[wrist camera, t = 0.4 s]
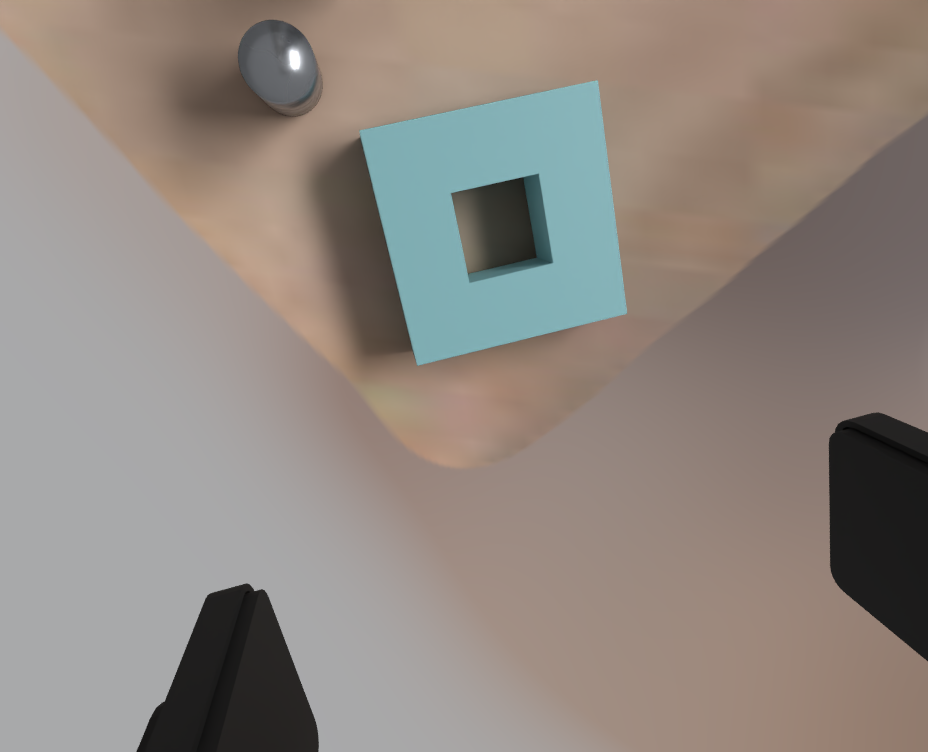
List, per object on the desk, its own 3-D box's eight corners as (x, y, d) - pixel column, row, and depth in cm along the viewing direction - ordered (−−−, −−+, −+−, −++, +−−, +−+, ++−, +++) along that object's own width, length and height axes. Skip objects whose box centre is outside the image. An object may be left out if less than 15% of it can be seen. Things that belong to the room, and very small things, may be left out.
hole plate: (360, 137, 34) (359, 130, 31) (575, 91, 35) (597, 80, 32) (412, 351, 38) (417, 365, 35) (605, 304, 39) (627, 313, 36)
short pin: (248, 53, 32) (227, 27, 27) (312, 40, 32) (302, 13, 28) (268, 122, 33) (251, 109, 28) (330, 109, 33) (324, 94, 29)
